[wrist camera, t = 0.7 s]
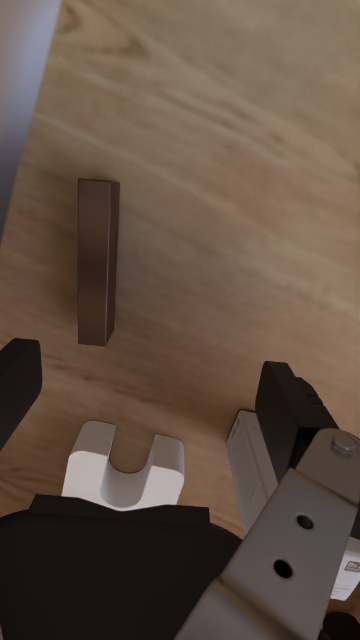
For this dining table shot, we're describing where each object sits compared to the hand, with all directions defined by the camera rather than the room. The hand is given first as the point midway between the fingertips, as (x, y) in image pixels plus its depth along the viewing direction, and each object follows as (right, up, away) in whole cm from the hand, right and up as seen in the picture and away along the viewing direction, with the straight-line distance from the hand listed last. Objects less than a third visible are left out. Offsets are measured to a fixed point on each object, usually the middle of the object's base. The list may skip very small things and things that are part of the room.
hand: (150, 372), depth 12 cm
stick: (-5, +6, +13) cm, 15 cm away
